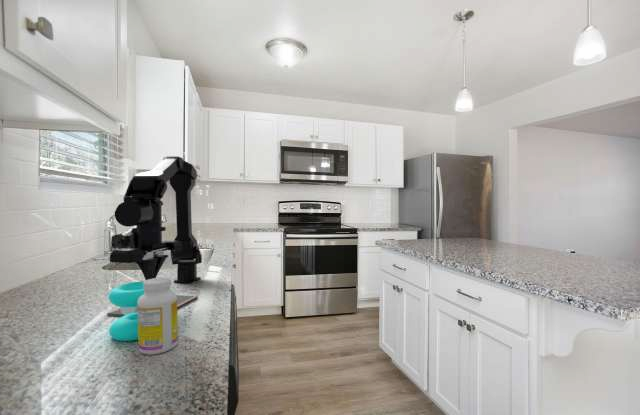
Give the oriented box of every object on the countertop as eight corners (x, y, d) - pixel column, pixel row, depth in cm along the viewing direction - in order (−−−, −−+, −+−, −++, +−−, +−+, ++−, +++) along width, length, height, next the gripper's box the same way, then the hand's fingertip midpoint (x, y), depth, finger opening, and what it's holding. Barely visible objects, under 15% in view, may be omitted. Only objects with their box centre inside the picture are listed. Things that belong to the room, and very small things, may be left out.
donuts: (164, 288, 63) (105, 295, 58) (165, 336, 63) (106, 348, 58) (163, 277, 71) (111, 283, 67) (164, 320, 72) (112, 328, 67)
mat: (154, 295, 90) (154, 293, 90) (197, 298, 88) (197, 296, 88) (107, 315, 75) (107, 312, 75) (157, 319, 72) (157, 316, 72)
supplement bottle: (168, 336, 63) (167, 274, 63) (184, 346, 59) (183, 279, 58) (132, 348, 58) (131, 281, 57) (146, 360, 54) (145, 287, 53)
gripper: (148, 221, 89) (149, 274, 90) (89, 226, 71) (90, 292, 71) (182, 221, 87) (183, 275, 88) (130, 226, 69) (131, 295, 69)
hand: (150, 283), depth 79 cm, fingers closed
